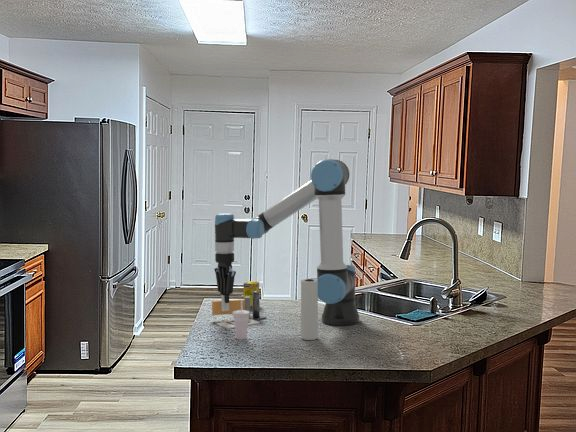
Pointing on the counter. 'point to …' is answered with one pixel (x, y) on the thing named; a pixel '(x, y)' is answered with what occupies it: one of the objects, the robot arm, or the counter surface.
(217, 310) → the orange rectangular slab
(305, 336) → the paper towel roll
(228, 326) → the label tile
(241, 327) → the smoothie
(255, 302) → the pivot post
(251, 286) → the supplement box
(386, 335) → the counter surface
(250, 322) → the label tile
